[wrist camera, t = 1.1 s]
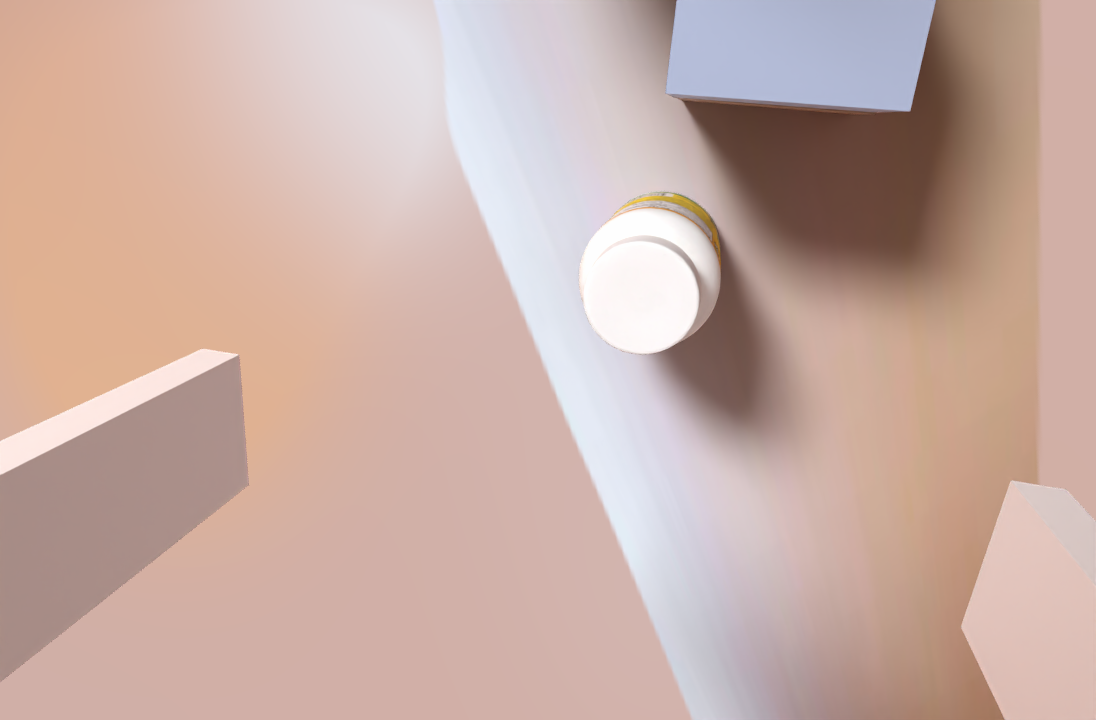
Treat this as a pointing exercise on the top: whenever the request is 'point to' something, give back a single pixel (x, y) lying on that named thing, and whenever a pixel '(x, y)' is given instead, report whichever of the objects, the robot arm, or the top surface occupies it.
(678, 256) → the supplement bottle
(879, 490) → the top surface
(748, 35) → the slate block
